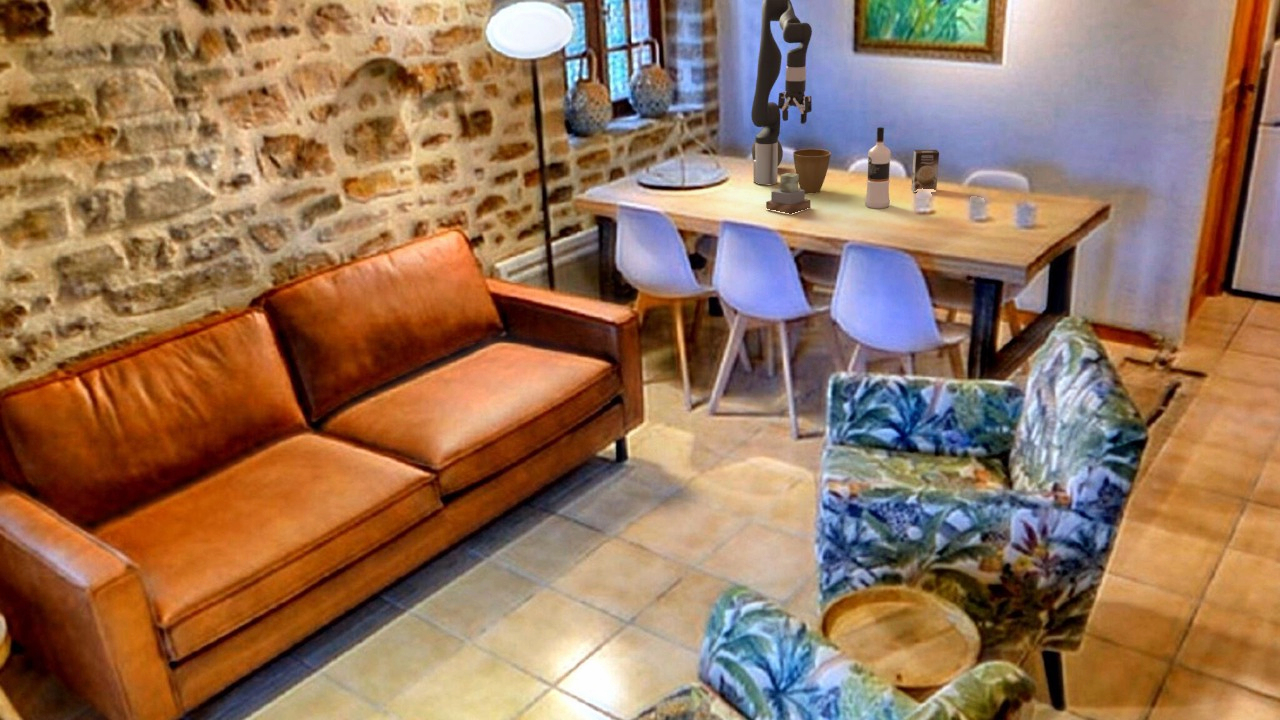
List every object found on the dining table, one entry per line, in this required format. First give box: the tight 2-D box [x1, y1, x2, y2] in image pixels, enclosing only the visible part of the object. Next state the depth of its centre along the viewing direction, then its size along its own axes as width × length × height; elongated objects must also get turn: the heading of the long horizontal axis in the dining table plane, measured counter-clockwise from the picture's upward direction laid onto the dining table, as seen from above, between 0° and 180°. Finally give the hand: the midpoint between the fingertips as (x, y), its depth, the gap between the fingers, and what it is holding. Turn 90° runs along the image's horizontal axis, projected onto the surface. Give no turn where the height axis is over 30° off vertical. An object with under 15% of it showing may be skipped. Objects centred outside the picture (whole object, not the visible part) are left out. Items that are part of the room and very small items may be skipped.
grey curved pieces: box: [751, 140, 784, 167], centre depth 469 cm, size 14×14×15 cm
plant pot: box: [792, 148, 832, 194], centre depth 430 cm, size 15×15×16 cm
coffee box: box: [910, 149, 940, 193], centre depth 423 cm, size 9×6×16 cm
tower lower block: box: [765, 198, 812, 214], centre depth 409 cm, size 12×12×4 cm
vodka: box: [864, 126, 892, 210], centre depth 403 cm, size 9×9×30 cm
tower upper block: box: [770, 188, 806, 205], centre depth 408 cm, size 9×9×4 cm
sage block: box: [779, 172, 799, 193], centre depth 406 cm, size 5×5×6 cm
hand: (794, 122), depth 406 cm, fingers open, 8 cm apart
